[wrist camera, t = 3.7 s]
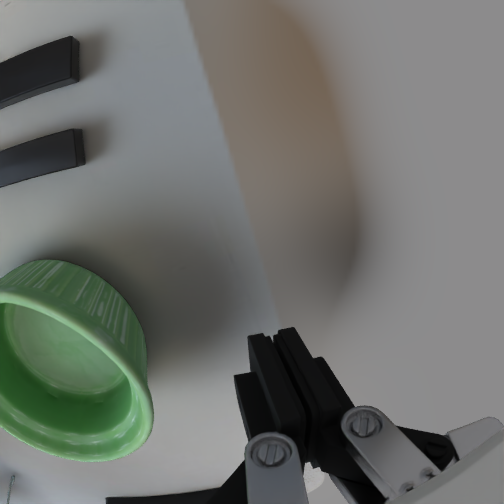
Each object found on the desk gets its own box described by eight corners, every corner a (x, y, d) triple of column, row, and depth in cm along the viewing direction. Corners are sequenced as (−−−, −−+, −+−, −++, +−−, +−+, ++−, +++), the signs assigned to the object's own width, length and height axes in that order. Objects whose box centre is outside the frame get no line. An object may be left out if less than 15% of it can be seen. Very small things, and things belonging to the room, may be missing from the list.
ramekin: (141, 236, 11) (122, 287, 7) (170, 398, 15) (173, 465, 11) (-28, 251, 10) (-80, 293, 6) (29, 394, 13) (9, 449, 9)
